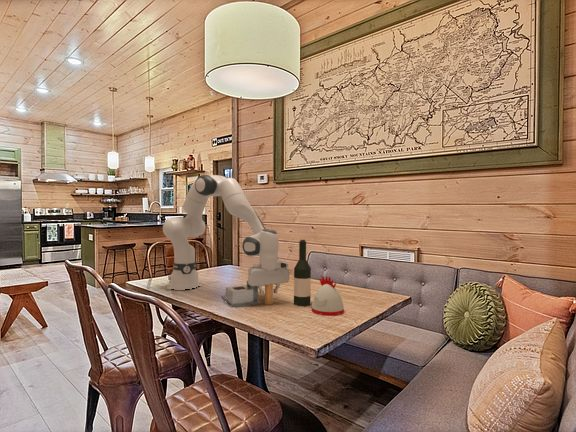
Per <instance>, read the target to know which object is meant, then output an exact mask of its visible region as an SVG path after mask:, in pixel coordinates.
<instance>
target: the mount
mask: <svg viewBox="0 0 576 432" xmlns="http://www.w3.org/2000/svg"><path fill="white" fill-rule="evenodd" d="M258 295H259V289H258V286H249V284H248V280H246V285H245V284H244V285H234V286H233V285H232V286H225V295H221V296H220V299H221V298H222V299H223V300H222V299H221V300H222V301H224V302H225V301H226V302H227V303H226V302H225V303H226V304H227V305H229V306H230V305H231V306H230V307H232V308H233V307H235V308H242V307H248V306H249V305H250V306H257V305H261V301H259V296H258ZM250 306H249V307H250Z"/></svg>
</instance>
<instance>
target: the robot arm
mask: <svg viewBox="0 0 576 432" xmlns="http://www.w3.org/2000/svg"><path fill="white" fill-rule="evenodd" d="M210 197H221V199H222V202H223V204H224V206H225V208H226V209H225V210H226V211H227V212H228V213H229V214H230V215H232V216H234V217H236V218H239V219H240V220H242V221H244V222H246V223H247V224H248V225H249V226H250V229H251V230H252V232H253V235H250V236H246V237H245V238H244V239H243V242H242V244H241V247H242V251H243V252H244V254H245V255H246V256H248V257H257V256H259V264H256V265H251V266H249V267H248V269H247V273H248V276H247V281H248V284H249V285H250V286H258V291H259V294H260V296H263V295H264V296H265V290H263V289H262V288H263V286H262V285H264V286H265V285H269V284H270V283H271V284H274V286H275V288H273V294H278V291H279V288H280V287H281V284H286V283H289V282H290V269H289V264H288V262H285V261H282V260H280V259H279V250H280V248H279V247H280V243H279V234H278V232H277V231H275V230H273V229H267V228H265V226H264V224H263V222H262V219H261V218H260V217H259V215H258V214H257V211H255V209H254V208H253V207H252V205H251V204H250V202H249V201H248V199H247V197H246V194H245V193H244V191H243V189H242V187H241V185H240V183H239V182H238V181H237V180H236V179H235V178H234V177H228V176H225V175H218V174H201V175H199V176H198V177H197V178H196V179H195V180H194V181H193V183H192V185H191V186H190V187H189V190H188V192H187V195H186V197H185V200H184V202H183V204H182V209H183V211H184V213H186V216H185V217H183V218H182V217H179V218H178V217H174V218H170V219H167V220H165V221H164V223H163V225H162V233H163V234H164V236H165V237H166V238H167V239H168V240H169V241H170V242H171V244H172V247H173V253H174V254H173V255H174V256H173V257H174V259H173V260H174V262H173V265H172V268H173V270H172V272H171V274H170V275H168V281H169V282H167V286H166V290H171V289H174V290H173V291H186V290H185V289H190V290H193V289H192V288H195V289H197V288H199V287H198V286H200V287H202V284H201V283H199V282H200V281H199V271H197V270H196V267H197V264H196V248H195V247H194V246H193V245H191V243H189V240H188V238H197V237H199V236H202V235H204V233H205V232H206V223H205V221H204V220H203V214H204V213H203V212H204V210H205V208H206V206H207V203H208V200H209V198H210ZM196 287H197V288H196Z"/></svg>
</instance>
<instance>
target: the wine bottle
mask: <svg viewBox="0 0 576 432" xmlns="http://www.w3.org/2000/svg"><path fill="white" fill-rule="evenodd" d="M298 247H299V249H298V251H299V252H298V254H299V255H298V260H297V263H296V265H295V266H294V268H293V305H294V306H297V307H308V306H311V288H312V287H311V285H312V282H311V281H312V280H311V279H312V273H311V271H312V268H311V266H310V264H309V262H308V260H307V241H306V239H300V240H299V243H298Z"/></svg>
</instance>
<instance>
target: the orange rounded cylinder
mask: <svg viewBox="0 0 576 432" xmlns="http://www.w3.org/2000/svg"><path fill="white" fill-rule="evenodd" d="M273 289H274V285H273V284H271V283H270V284H269V285H264V305H269V306H271V305H273V303H274V302H273V301H274V300H273V298H274V297H273V294H274V293H273Z"/></svg>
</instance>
